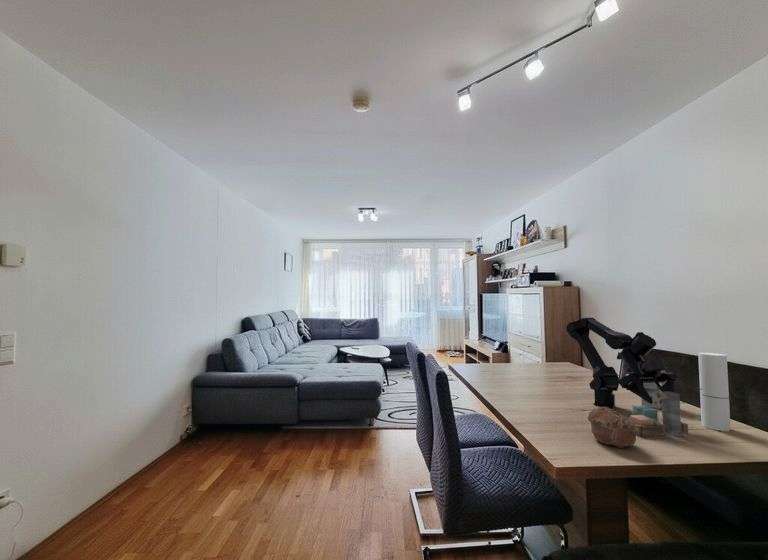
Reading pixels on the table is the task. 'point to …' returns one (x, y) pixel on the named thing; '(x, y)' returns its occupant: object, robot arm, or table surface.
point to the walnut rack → (657, 429)
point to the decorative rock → (612, 427)
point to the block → (641, 420)
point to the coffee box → (654, 393)
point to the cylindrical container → (714, 391)
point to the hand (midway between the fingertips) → (664, 402)
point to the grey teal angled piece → (665, 413)
